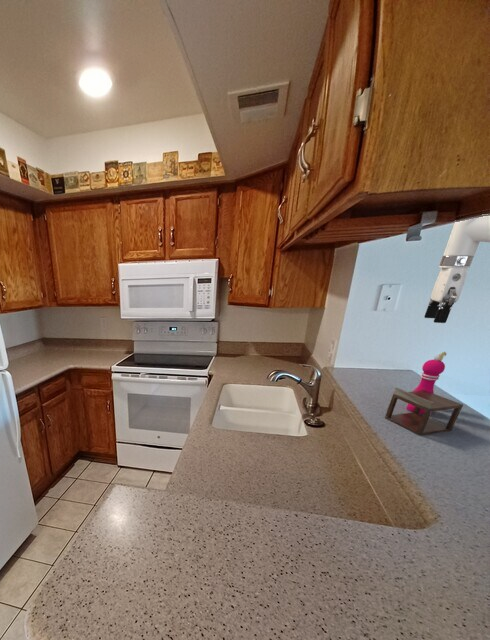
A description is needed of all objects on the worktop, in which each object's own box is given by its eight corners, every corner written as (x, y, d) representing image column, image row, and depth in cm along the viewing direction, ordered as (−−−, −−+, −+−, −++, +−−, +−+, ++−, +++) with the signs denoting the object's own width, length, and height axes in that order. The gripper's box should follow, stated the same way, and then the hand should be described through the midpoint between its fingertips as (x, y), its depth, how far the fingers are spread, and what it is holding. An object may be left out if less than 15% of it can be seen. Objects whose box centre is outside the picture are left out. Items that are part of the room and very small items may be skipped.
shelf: (414, 414, 116) (426, 384, 110) (451, 430, 104) (466, 398, 99) (384, 418, 113) (395, 387, 108) (418, 435, 102) (432, 402, 96)
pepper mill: (427, 416, 114) (450, 359, 104) (402, 410, 118) (423, 355, 109) (430, 409, 119) (453, 355, 109) (406, 404, 123) (426, 351, 113)
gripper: (483, 263, 93) (458, 325, 101) (459, 262, 107) (438, 316, 115) (451, 263, 95) (429, 324, 103) (432, 262, 109) (413, 315, 118)
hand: (434, 320), depth 109 cm, fingers open, 9 cm apart
